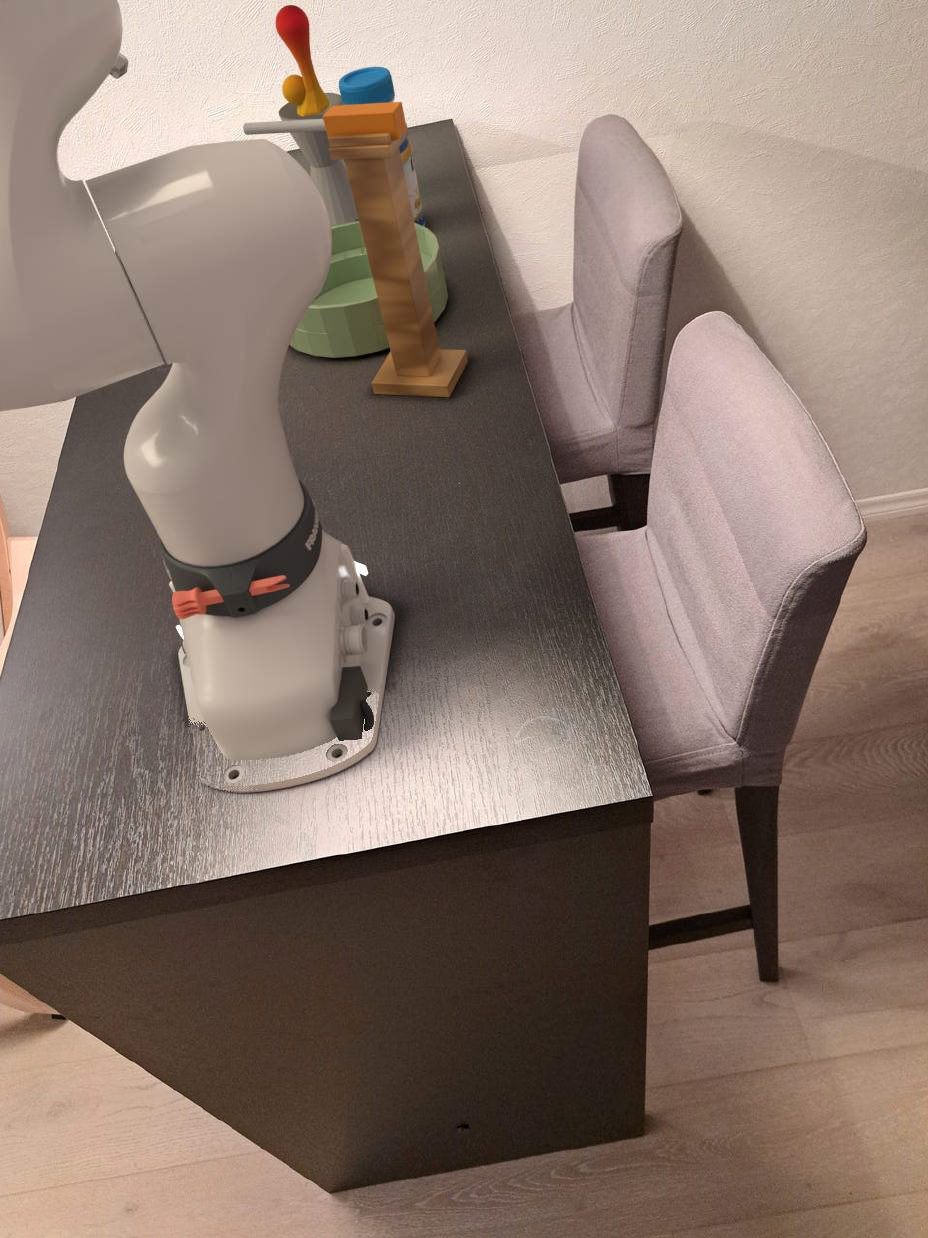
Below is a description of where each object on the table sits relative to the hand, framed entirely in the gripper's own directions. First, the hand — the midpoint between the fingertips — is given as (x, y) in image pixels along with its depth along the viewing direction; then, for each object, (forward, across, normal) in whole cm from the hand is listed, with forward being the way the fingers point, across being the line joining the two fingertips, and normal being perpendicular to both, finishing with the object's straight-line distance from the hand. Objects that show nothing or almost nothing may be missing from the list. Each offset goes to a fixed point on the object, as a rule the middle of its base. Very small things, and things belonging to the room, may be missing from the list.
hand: (98, 87), depth 90 cm
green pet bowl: (+30, +15, +18) cm, 38 cm away
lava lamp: (+18, +42, +27) cm, 53 cm away
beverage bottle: (+27, +37, +20) cm, 50 cm away
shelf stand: (+40, +2, +11) cm, 41 cm away
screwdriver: (+21, +2, -8) cm, 22 cm away
